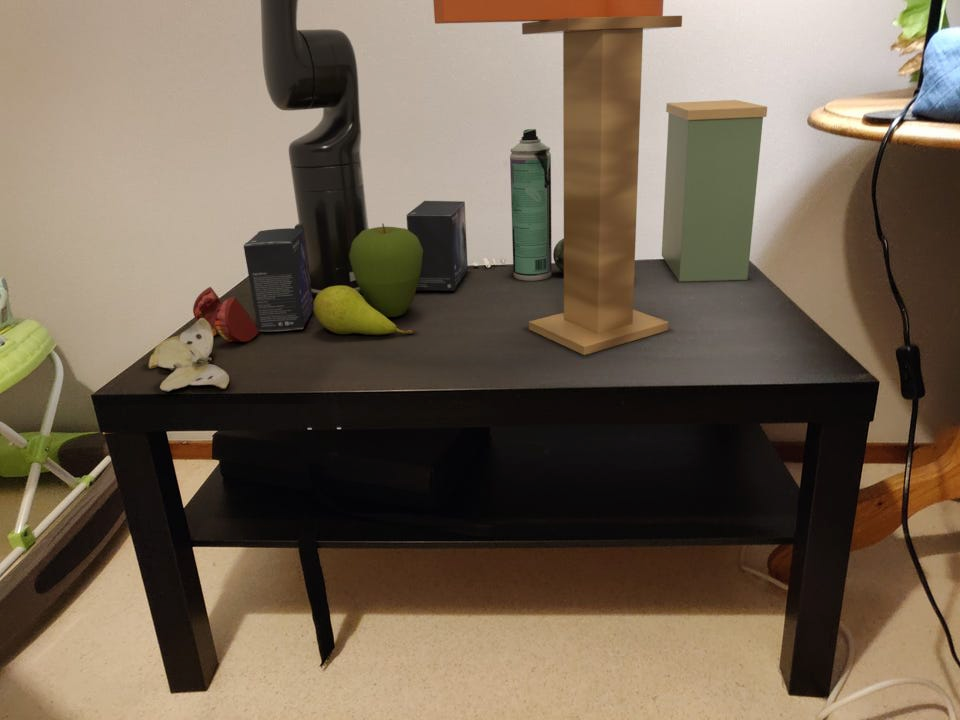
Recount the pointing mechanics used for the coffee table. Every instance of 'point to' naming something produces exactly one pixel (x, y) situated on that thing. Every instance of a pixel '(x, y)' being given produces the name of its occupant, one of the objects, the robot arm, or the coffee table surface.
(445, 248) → the small box
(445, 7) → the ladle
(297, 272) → the box
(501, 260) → the miniature set
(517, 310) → the coffee table surface
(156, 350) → the pale yellow butterfly wing
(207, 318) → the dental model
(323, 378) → the coffee table surface
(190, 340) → the butterfly
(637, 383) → the coffee table surface
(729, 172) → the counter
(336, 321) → the fruit
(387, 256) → the apple
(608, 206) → the stand
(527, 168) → the spray can
